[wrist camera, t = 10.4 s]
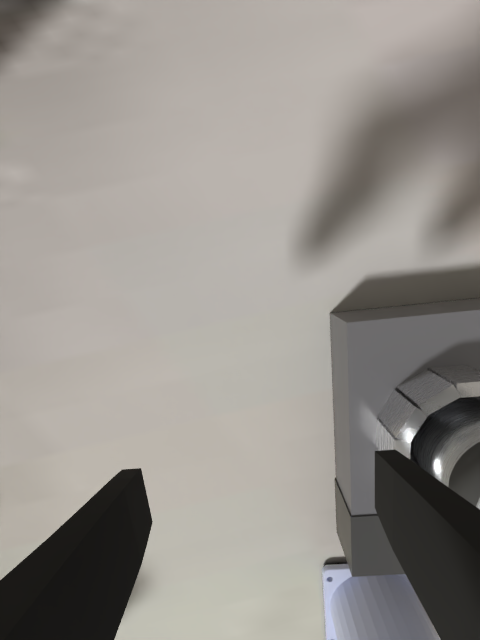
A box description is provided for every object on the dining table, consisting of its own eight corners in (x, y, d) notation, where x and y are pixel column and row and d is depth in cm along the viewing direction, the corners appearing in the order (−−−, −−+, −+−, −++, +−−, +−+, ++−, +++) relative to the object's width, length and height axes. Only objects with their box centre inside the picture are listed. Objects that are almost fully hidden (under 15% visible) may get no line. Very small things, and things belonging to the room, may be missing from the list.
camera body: (480, 522, 20) (554, 604, 16) (336, 531, 21) (364, 612, 16) (503, 295, 17) (609, 308, 12) (328, 313, 17) (360, 331, 12)
